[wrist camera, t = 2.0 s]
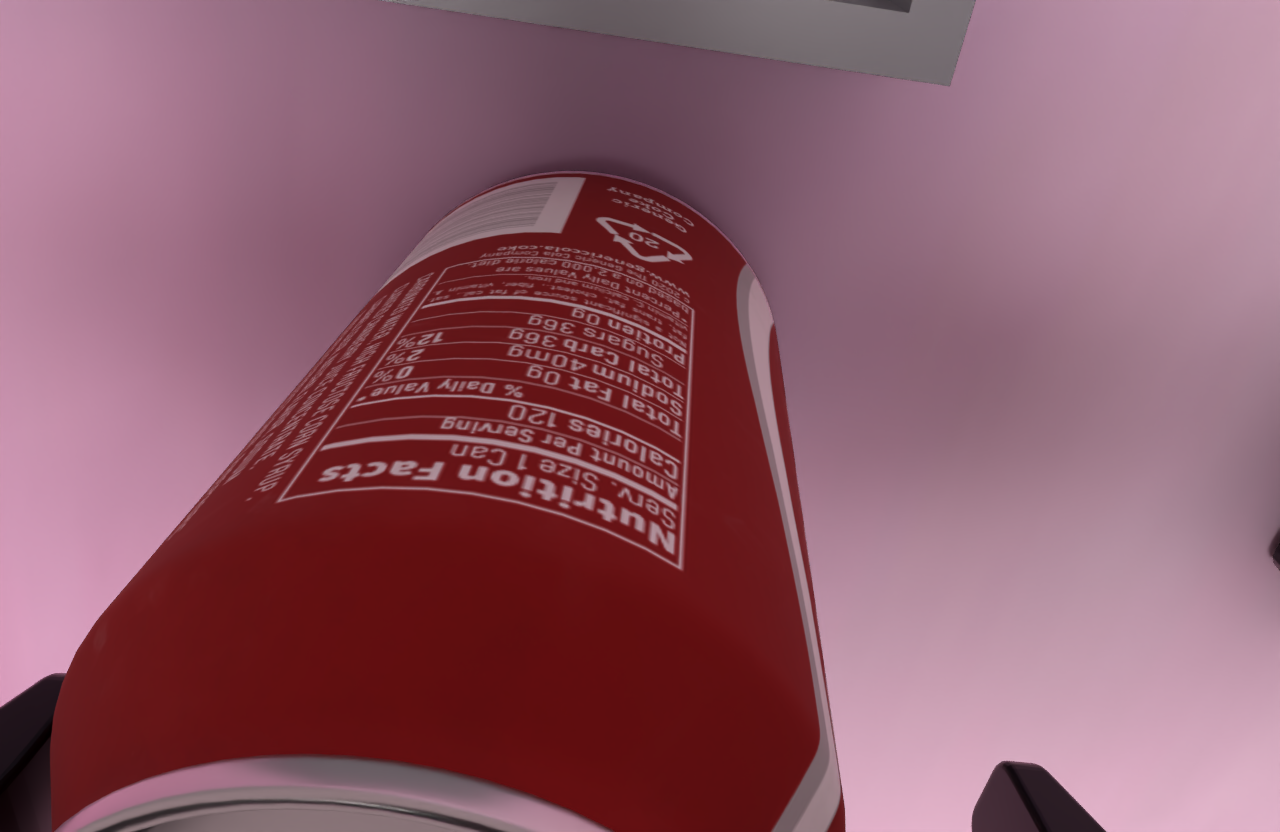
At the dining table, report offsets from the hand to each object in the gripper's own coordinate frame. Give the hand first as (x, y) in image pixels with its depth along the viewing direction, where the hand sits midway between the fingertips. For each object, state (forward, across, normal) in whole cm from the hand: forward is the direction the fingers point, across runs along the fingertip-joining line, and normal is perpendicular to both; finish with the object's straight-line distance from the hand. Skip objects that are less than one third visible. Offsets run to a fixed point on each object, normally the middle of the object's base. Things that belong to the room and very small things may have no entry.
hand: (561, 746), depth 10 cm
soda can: (+9, 0, 0) cm, 9 cm away
